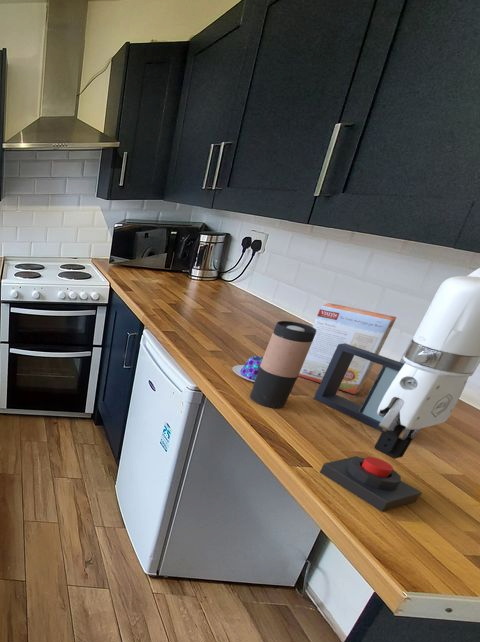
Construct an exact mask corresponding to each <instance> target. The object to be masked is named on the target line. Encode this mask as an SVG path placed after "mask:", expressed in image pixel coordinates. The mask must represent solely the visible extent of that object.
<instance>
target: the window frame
mask: <svg viewBox="0 0 480 642" xmlns="http://www.w3.org/2000/svg"><path fill="white" fill-rule="evenodd" d="M354 355H355V356H358V357H361V358H364V359H366V360H369V361H372V362H375V363H374V364H376V365H381V368H380V370H379V372H378V374H377V376H376V377H375V379H374V382H373V383H372V386H371V388H370V390H369V391H368V394H367V395H366V396H365V399H364V401H363V403H362V405H361V404H359V403H356V402H355V401H351V400H349V399H347V398H345V397H343V396H340V395H338V394H337V393H338V391H339V389H338V388H339V386H340V384H341V382H342V380H343V378H344V376H345V374H346V372H347V370H348V368H349V365H350V363H351V361H352V359H353V357H354ZM403 365H404V363H401V362H400V361H398V360H394V359H392V358H389V357H386V356H383V355H380V354H379V355H378V354H375V353H372V352H369V351H366V350H363V349H360V348H357V347H354V346H352V345H349V344H346V343H345V344H338V346H337V348H336V350H335V353H334V355H333V357H332V359H331V361H330V363H329V366H328V368H327V370H326V372H325V374H324V377H323V379H322V381H321V383H319V385H318V388H317V390H316V392H315V394H314V396H313V400H316V401H317V402H319V403H322V404H324V405H326V406H327V407H330V408H332V409H334V410H336V411H338V412H341V413H343V414H344V415H347V416H348V417H351V418H353V419H355V420H357V421H359V422H360V423H362V424H364V425H367V426H369V427H371V428H373V429H375V430H377V431H379V432H381V433H382V432H383V428H382V427H380V426H379V424H380V423H381V421H382V420H383V418H384V417H385V416H383V417H381V416H379V415H378V413H377V410H378V407H379V405H380V403H381V401H382V399H383V397H384V395H385V393H386V392H387V390H388V388H389V387H390V385H391V383H392V382H393V380H394V379H395V377H396V376H397V374H398V373H399V371H400V370H401V368H402V367H403ZM410 438H412V437H410ZM412 439H413V438H412Z"/></svg>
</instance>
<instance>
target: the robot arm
mask: <svg viewBox="0 0 480 642" xmlns="http://www.w3.org/2000/svg"><path fill="white" fill-rule="evenodd" d="M411 339H412V341H411V340H410V341H411V343H410V342H409V343H410V345H409V344H408V345H409V347H408V346H407V347H408V349H407V348H406V349H407V351H406V353H405V355H404V356H403V355H402V356H403V360H404V361H405V362H406V363H405V364H404V365H403V367H402V368H401V370H400V371H399V373H398V374H397V376H396V377H395V379H394V380H393V382H392V383H391V385H390V387H389V388H388V390H387V392H386V393H385V395H384V397H383V399H382V401H381V403H380V405H379V407H378V410H377V413H378V415H379V416H381V417H383V416H385V417H384V418H383V420H382V421H381V423H380V424H379V426H380V427H382V428H383V432H381V434H380V436H379V437H378V439H377V441H376V443H375V445H374V446H373V447H374V449H375V450H376V451H378V452H380V453H382V454H384V455H386V456H388V457H389V458H392V459H393V460H394V459H395V460H396V459H399V458H403V457H404V455H405V453H406V452H407V450H408V448H409V447H410V444H411V443H412V442H413V440H414V438H415V437H416V435H418V433H419V432H420V430H421V429H424V428H428V427H433V426H435V425H437V426H438V425H440V424H444V423H445V422H446V421H448V420H449V418H450V416H451V414H452V413H453V410H454V409H455V407H456V405H457V404H458V401H459V399H460V397H461V395H462V393H463V391H464V389H465V388H466V385H467V383H468V380H469V378H470V377H472V376H473V375H474V373H475V371H476V370H477V368H478V366H479V365H480V267H478V268H477V269H475V270H473V271H472V272H471V273H469V274H468V275H456V276H451V277H448V278H446V279H445V280H444V281H443V282H442V283H441V284H440V285H439V287H438V289H437V291H436V293H435V294H434V297H433V298H432V301H431V302H430V304H429V306H428V308H427V310H426V312H425V314H424V316H423V318H422V320H421V322H420V324H419V326H418V327H417V330H416V332H415V334H414V335H413V337H412V338H411ZM410 437H412V438H410Z"/></svg>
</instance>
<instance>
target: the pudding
mask: <svg viewBox="0 0 480 642" xmlns="http://www.w3.org/2000/svg"><path fill="white" fill-rule="evenodd" d="M263 357H264V356H258V355H255V356H250V357H249V358H248V359H247V360H246V362H245V364H237V365H234V366H233V367H232V371H233V372H234V373H235V374H236V375H237V376H239V377H241V378H242V379H245V380H247V381H250V382H253V383H254V382H255V379H256V376H257V373H258V370H259V367H260V364H261V362H262V359H263Z"/></svg>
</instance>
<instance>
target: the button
mask: <svg viewBox="0 0 480 642" xmlns="http://www.w3.org/2000/svg"><path fill="white" fill-rule="evenodd" d="M364 458H365V460H364V462H363V464H362V465H361V467H362V468H363V469H364V470H366V471H368V472H370V473H371V474H374V475H377V476H379V477H385V478H387V477H389V475H390V473H391V472H392V470H394V467H393V466H392V465H391V464H390V463H389V462H387V461H385V460H383V459H380V458H378V457H374V456H366V457H364Z"/></svg>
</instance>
